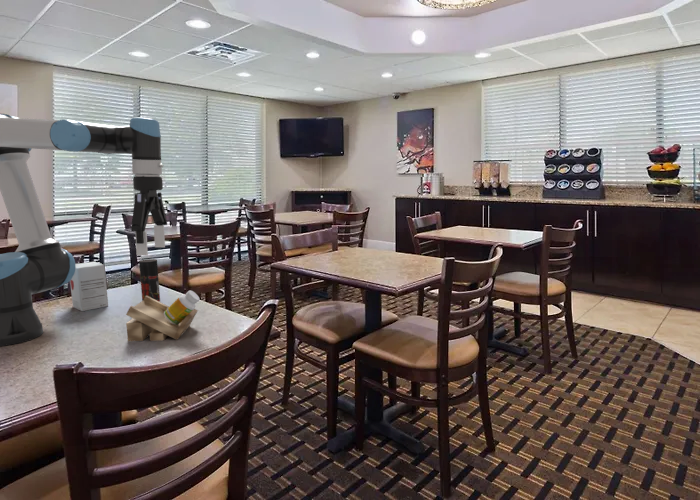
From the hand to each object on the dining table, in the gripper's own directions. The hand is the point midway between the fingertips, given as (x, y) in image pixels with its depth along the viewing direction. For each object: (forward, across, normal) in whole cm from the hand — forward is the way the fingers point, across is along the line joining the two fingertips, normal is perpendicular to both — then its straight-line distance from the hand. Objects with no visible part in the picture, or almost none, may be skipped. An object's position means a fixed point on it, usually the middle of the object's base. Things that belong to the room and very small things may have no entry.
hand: (151, 251), depth 134 cm
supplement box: (+25, +27, +32) cm, 49 cm away
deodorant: (+24, +33, +13) cm, 43 cm away
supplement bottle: (+19, -3, -5) cm, 20 cm away
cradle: (+23, -3, -4) cm, 24 cm away
